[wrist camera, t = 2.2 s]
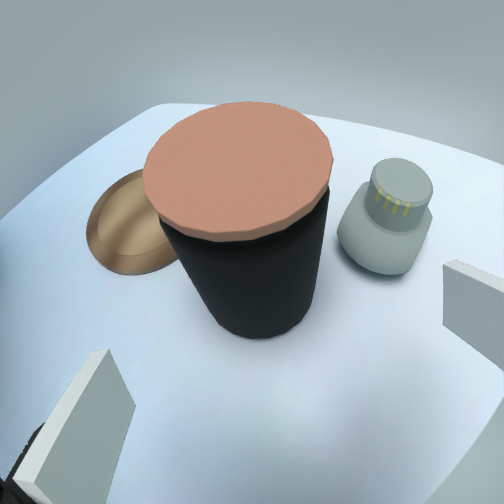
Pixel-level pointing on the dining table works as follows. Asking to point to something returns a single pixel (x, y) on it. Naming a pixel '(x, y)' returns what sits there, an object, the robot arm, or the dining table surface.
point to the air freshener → (388, 217)
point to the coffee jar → (245, 210)
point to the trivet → (128, 230)
